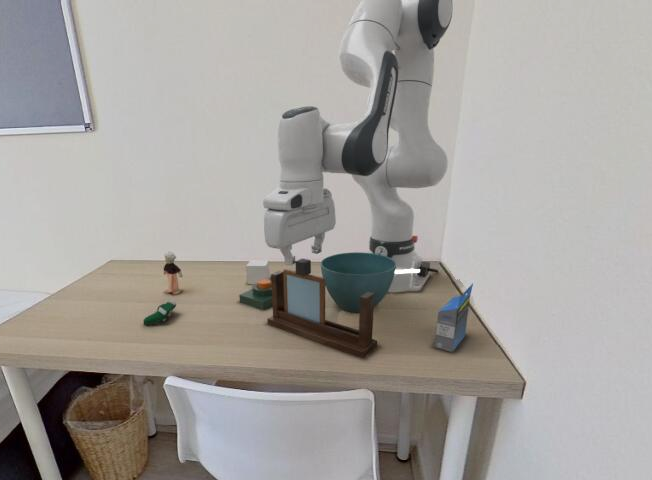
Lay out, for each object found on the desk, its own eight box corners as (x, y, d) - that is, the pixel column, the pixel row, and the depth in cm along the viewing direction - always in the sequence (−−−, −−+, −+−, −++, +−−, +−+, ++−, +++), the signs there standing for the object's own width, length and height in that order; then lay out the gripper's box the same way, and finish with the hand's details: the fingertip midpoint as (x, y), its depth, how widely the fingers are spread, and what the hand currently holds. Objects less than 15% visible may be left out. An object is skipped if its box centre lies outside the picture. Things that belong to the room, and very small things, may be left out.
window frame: (283, 315, 99) (281, 268, 95) (377, 346, 83) (380, 291, 78) (267, 324, 95) (264, 275, 91) (362, 358, 79) (365, 301, 74)
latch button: (264, 284, 111) (263, 278, 110) (273, 286, 109) (273, 281, 108) (255, 288, 108) (254, 282, 108) (264, 290, 106) (264, 284, 106)
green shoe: (152, 333, 98) (165, 318, 95) (140, 322, 97) (153, 307, 95) (168, 317, 106) (181, 303, 104) (157, 307, 106) (170, 293, 103)
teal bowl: (371, 329, 90) (374, 279, 86) (307, 310, 101) (306, 265, 97) (404, 303, 103) (408, 258, 98) (344, 289, 114) (344, 248, 110)
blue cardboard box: (447, 331, 88) (453, 279, 83) (465, 336, 85) (473, 282, 81) (433, 347, 81) (439, 292, 77) (453, 353, 79) (460, 296, 75)
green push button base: (266, 290, 116) (266, 277, 115) (290, 297, 111) (289, 283, 109) (239, 302, 109) (238, 288, 107) (263, 310, 103) (262, 295, 102)
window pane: (288, 314, 95) (286, 255, 90) (327, 327, 88) (327, 263, 83) (282, 318, 94) (280, 257, 88) (321, 331, 87) (321, 266, 81)
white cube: (251, 277, 128) (250, 260, 125) (270, 278, 126) (269, 260, 124) (247, 284, 122) (246, 265, 120) (266, 284, 121) (265, 265, 119)
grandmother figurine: (160, 293, 118) (153, 252, 113) (168, 289, 121) (162, 249, 117) (181, 296, 115) (176, 254, 111) (189, 291, 118) (183, 250, 114)
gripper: (319, 186, 90) (319, 244, 95) (256, 201, 76) (261, 268, 81) (342, 187, 86) (342, 248, 91) (281, 203, 72) (285, 274, 77)
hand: (303, 258), depth 86 cm, fingers open, 8 cm apart
